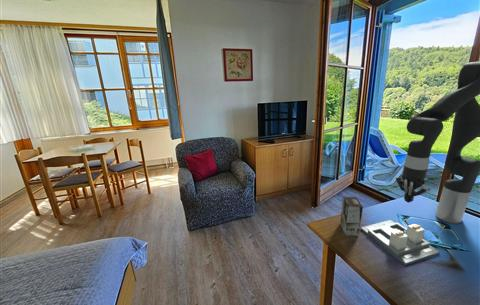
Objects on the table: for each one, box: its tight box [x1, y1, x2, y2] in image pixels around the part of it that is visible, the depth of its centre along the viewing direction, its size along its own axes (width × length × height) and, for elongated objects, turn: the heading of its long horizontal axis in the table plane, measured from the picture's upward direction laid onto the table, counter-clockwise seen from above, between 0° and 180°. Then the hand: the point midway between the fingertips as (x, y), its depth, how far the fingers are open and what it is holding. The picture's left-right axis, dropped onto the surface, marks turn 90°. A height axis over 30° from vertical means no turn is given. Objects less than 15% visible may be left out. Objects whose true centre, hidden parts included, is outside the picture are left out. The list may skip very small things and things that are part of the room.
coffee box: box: [339, 196, 364, 237], centre depth 98 cm, size 9×6×16 cm
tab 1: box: [389, 230, 408, 250], centre depth 85 cm, size 4×4×8 cm
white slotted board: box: [360, 219, 441, 266], centre depth 91 cm, size 18×22×3 cm
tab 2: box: [406, 223, 426, 244], centre depth 88 cm, size 4×4×8 cm
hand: (407, 201), depth 89 cm, fingers closed
